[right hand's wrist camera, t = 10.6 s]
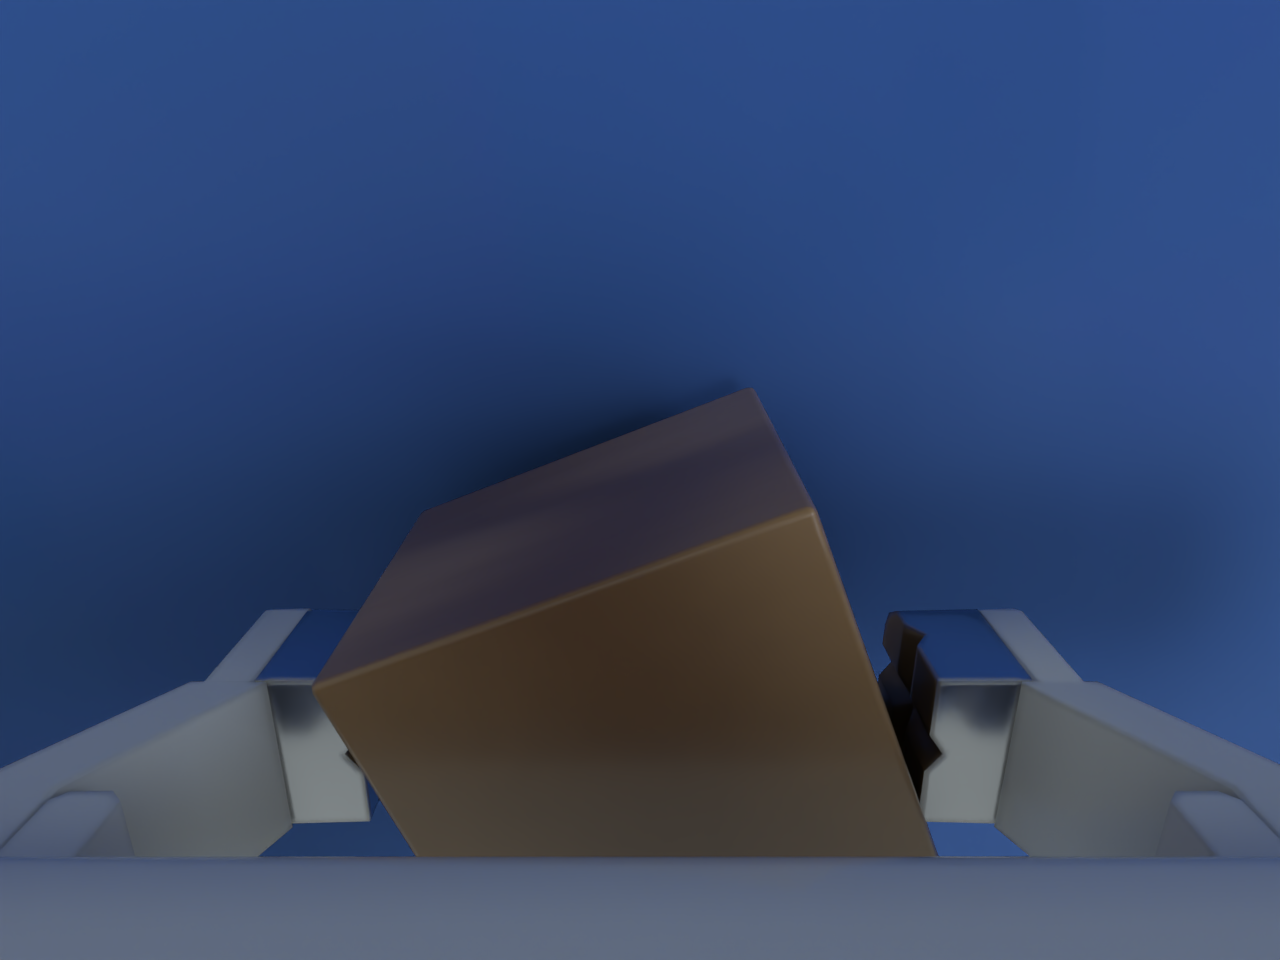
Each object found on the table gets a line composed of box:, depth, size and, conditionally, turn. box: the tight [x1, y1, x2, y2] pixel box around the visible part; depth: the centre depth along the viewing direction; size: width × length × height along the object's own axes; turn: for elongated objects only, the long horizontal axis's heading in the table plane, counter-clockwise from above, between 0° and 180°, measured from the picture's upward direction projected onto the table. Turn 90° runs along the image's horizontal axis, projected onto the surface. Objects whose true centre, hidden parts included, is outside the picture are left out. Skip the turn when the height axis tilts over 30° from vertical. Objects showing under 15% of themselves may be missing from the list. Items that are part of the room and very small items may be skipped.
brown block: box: [312, 388, 939, 857], centre depth 10 cm, size 5×4×4 cm
